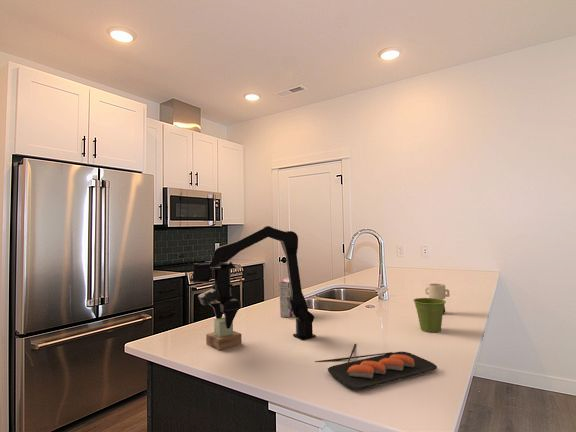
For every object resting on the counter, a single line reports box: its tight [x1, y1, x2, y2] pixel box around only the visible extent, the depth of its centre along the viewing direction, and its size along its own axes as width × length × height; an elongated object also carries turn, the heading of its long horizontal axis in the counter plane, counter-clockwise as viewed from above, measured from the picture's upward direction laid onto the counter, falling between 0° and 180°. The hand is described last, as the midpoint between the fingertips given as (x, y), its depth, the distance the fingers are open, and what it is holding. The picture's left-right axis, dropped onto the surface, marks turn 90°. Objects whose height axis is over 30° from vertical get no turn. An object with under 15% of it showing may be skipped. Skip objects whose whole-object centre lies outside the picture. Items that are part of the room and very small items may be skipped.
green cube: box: [213, 317, 234, 337], centre depth 120 cm, size 5×5×5 cm
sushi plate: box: [314, 343, 438, 390], centre depth 100 cm, size 29×30×4 cm
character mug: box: [424, 283, 451, 313], centre depth 155 cm, size 11×7×13 cm, turn 46°
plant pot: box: [412, 297, 447, 333], centre depth 130 cm, size 12×12×11 cm
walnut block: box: [205, 330, 243, 351], centre depth 120 cm, size 9×9×4 cm
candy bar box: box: [278, 277, 294, 318], centre depth 160 cm, size 11×5×16 cm, turn 168°
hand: (223, 325), depth 120 cm, fingers open, 9 cm apart
